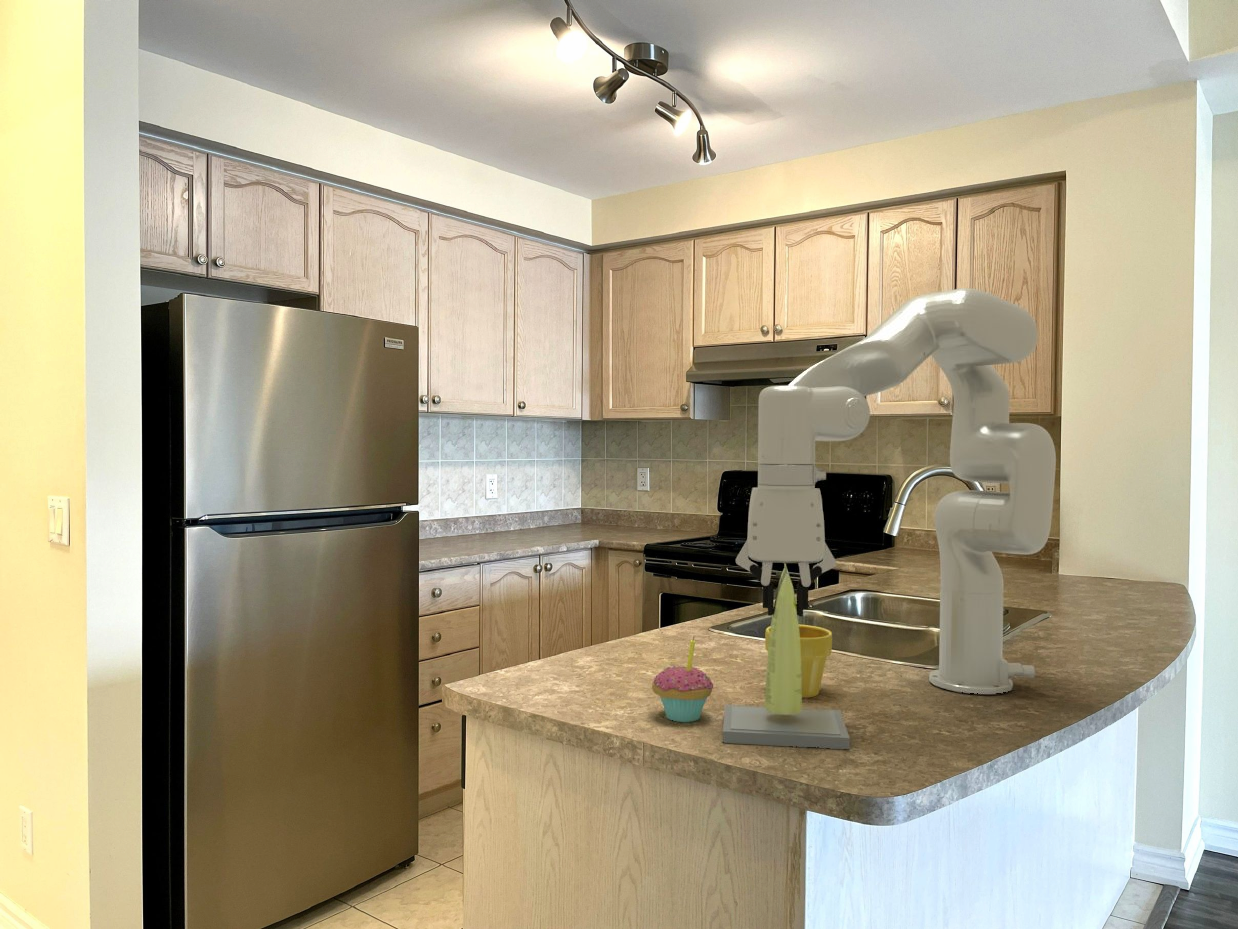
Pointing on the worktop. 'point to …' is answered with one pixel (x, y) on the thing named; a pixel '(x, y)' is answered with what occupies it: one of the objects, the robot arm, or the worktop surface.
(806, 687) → the plant pot
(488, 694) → the worktop surface
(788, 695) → the tube
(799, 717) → the grey flat block
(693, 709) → the cupcake
